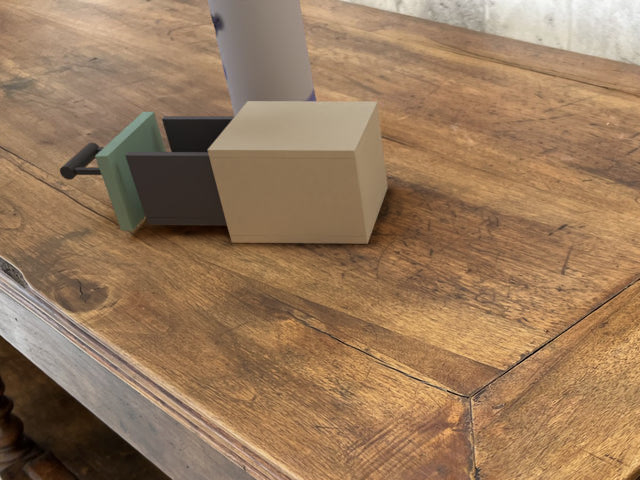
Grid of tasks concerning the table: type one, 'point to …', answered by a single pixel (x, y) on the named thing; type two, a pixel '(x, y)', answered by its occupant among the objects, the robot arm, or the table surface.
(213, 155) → the cabinet
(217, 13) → the container
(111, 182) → the drawer
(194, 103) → the table surface
